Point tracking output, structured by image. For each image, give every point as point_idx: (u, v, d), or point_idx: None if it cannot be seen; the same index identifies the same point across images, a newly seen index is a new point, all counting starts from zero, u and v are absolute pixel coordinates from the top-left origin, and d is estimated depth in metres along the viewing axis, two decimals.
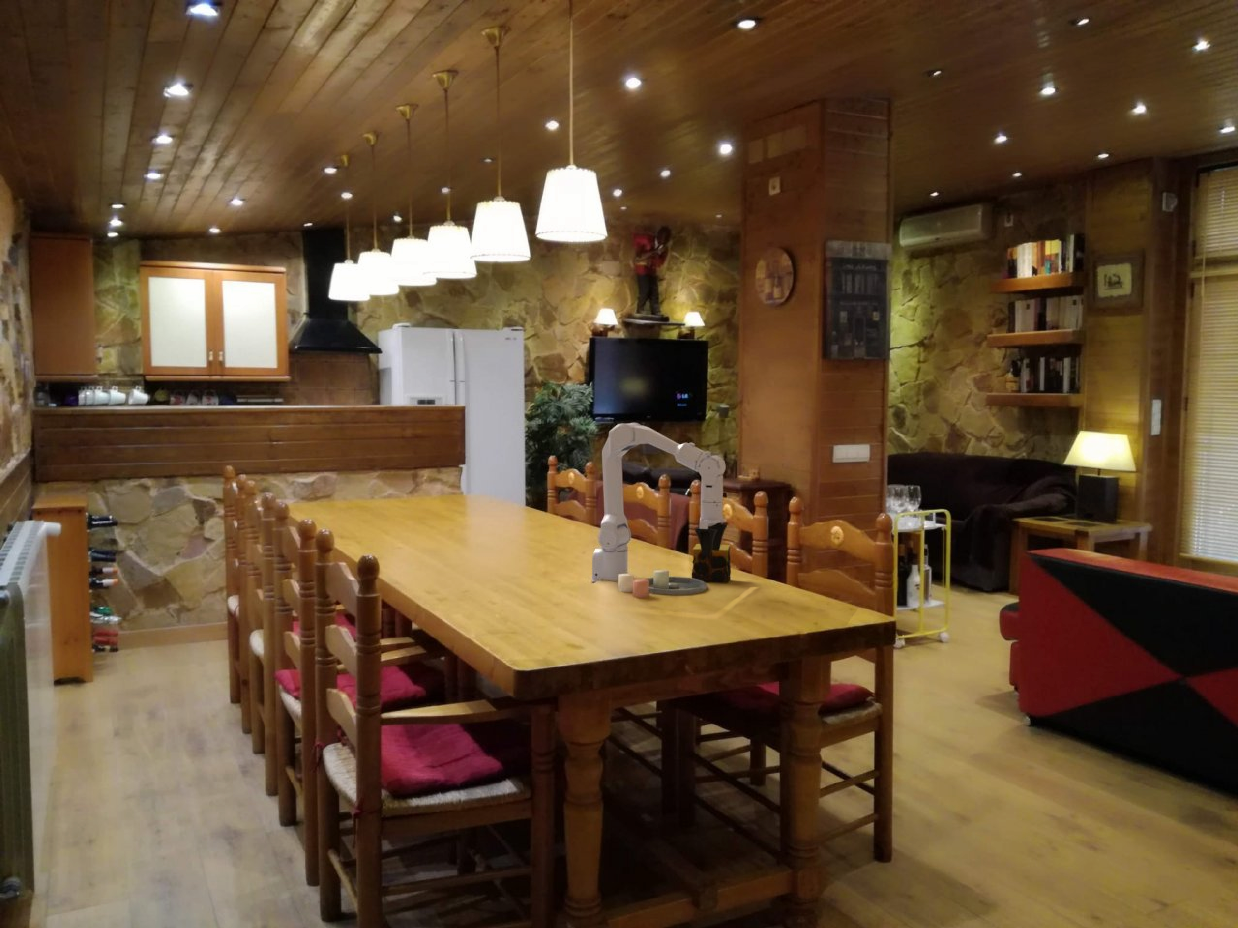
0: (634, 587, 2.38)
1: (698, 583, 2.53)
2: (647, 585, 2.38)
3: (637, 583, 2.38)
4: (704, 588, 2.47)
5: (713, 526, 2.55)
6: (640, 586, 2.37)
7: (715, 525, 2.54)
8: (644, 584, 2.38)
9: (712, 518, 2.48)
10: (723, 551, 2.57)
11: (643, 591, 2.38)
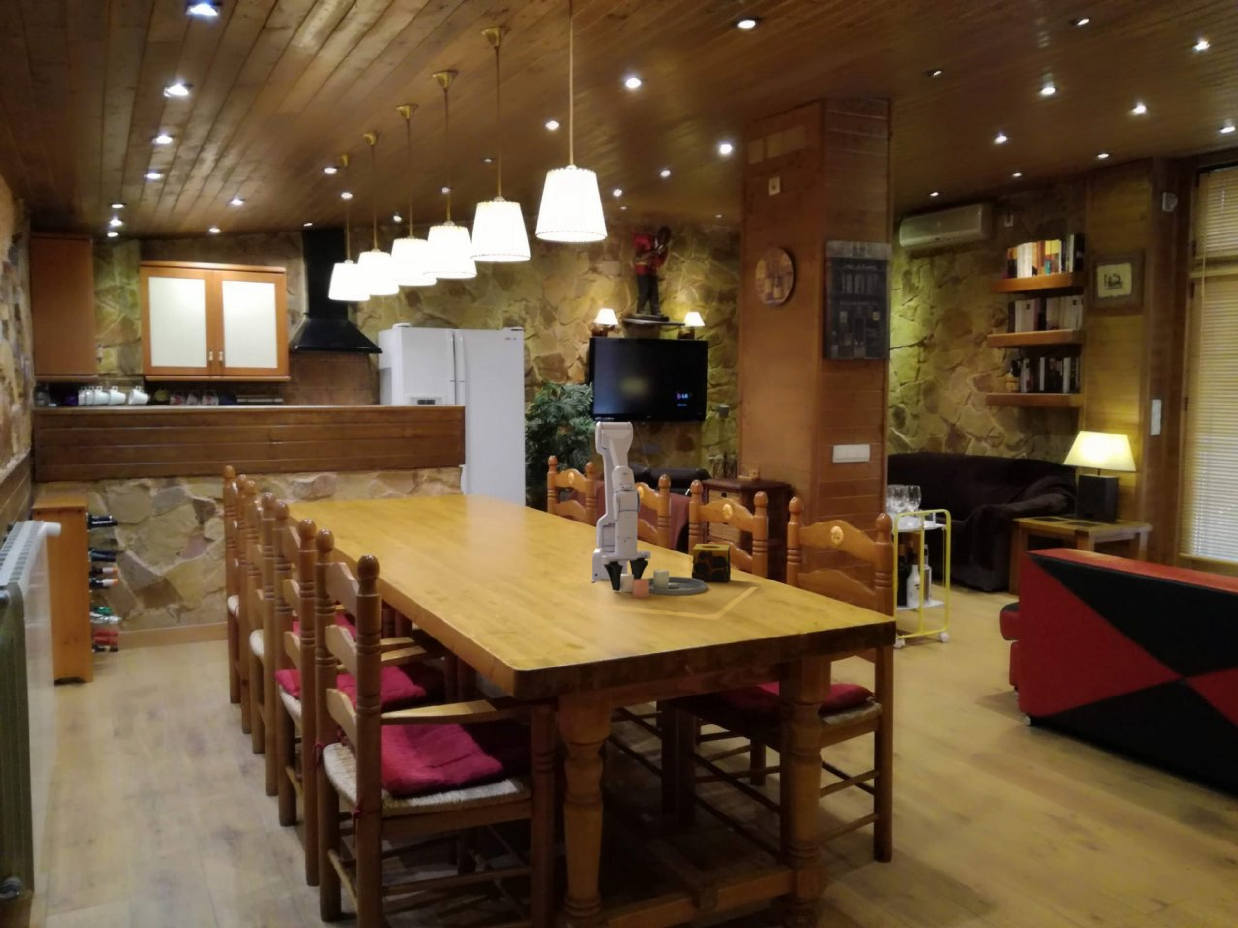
0: (634, 587, 2.38)
1: (698, 583, 2.53)
2: (647, 585, 2.38)
3: (637, 583, 2.38)
4: (704, 588, 2.47)
5: (634, 562, 2.48)
6: (640, 586, 2.37)
7: (635, 561, 2.48)
8: (644, 584, 2.38)
9: (620, 554, 2.43)
10: (723, 551, 2.57)
11: (643, 591, 2.38)
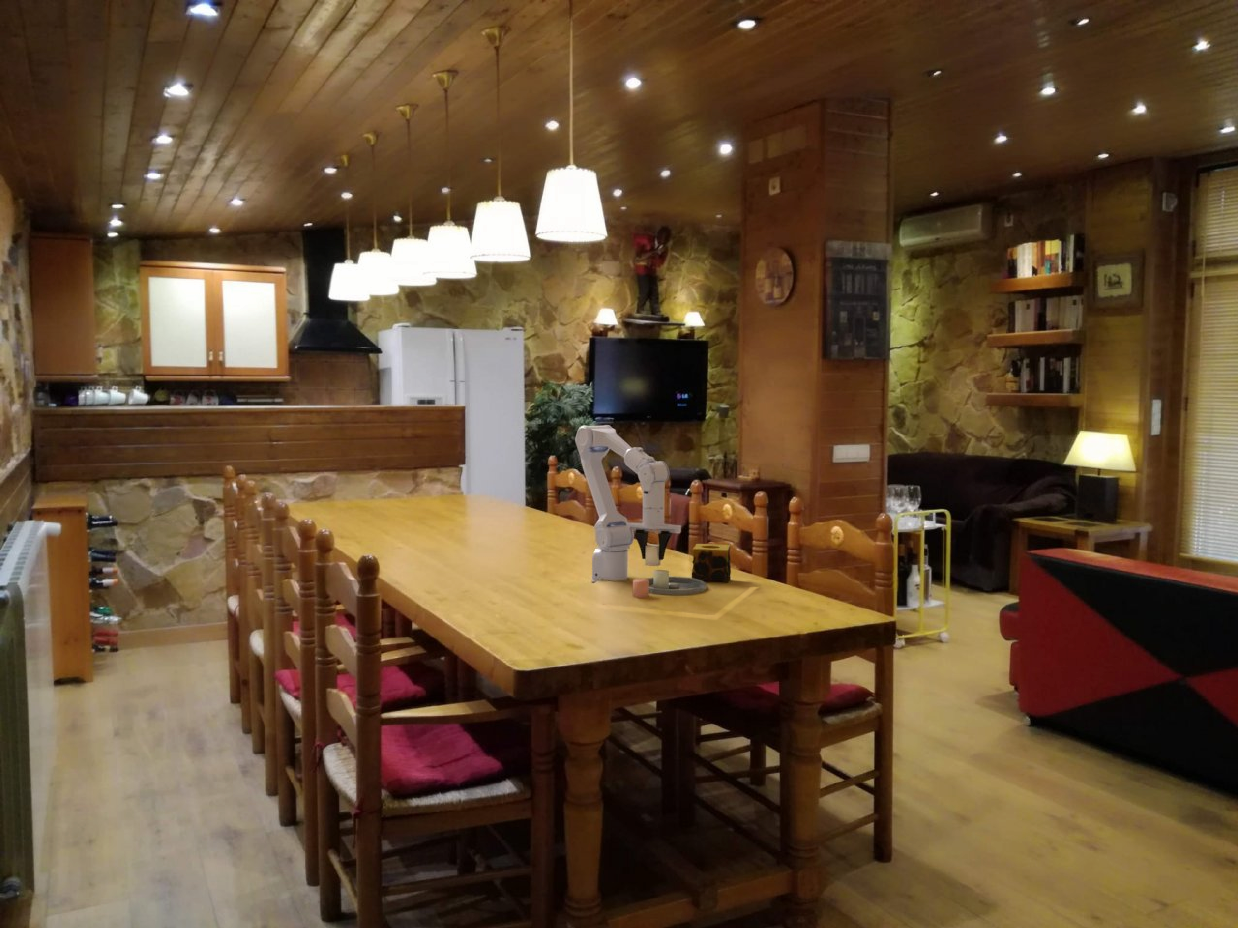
0: (634, 587, 2.38)
1: (698, 583, 2.53)
2: (647, 585, 2.38)
3: (637, 583, 2.38)
4: (704, 588, 2.47)
5: None
6: (640, 586, 2.37)
7: None
8: (644, 584, 2.38)
9: (642, 523, 2.50)
10: (723, 551, 2.57)
11: (643, 591, 2.38)
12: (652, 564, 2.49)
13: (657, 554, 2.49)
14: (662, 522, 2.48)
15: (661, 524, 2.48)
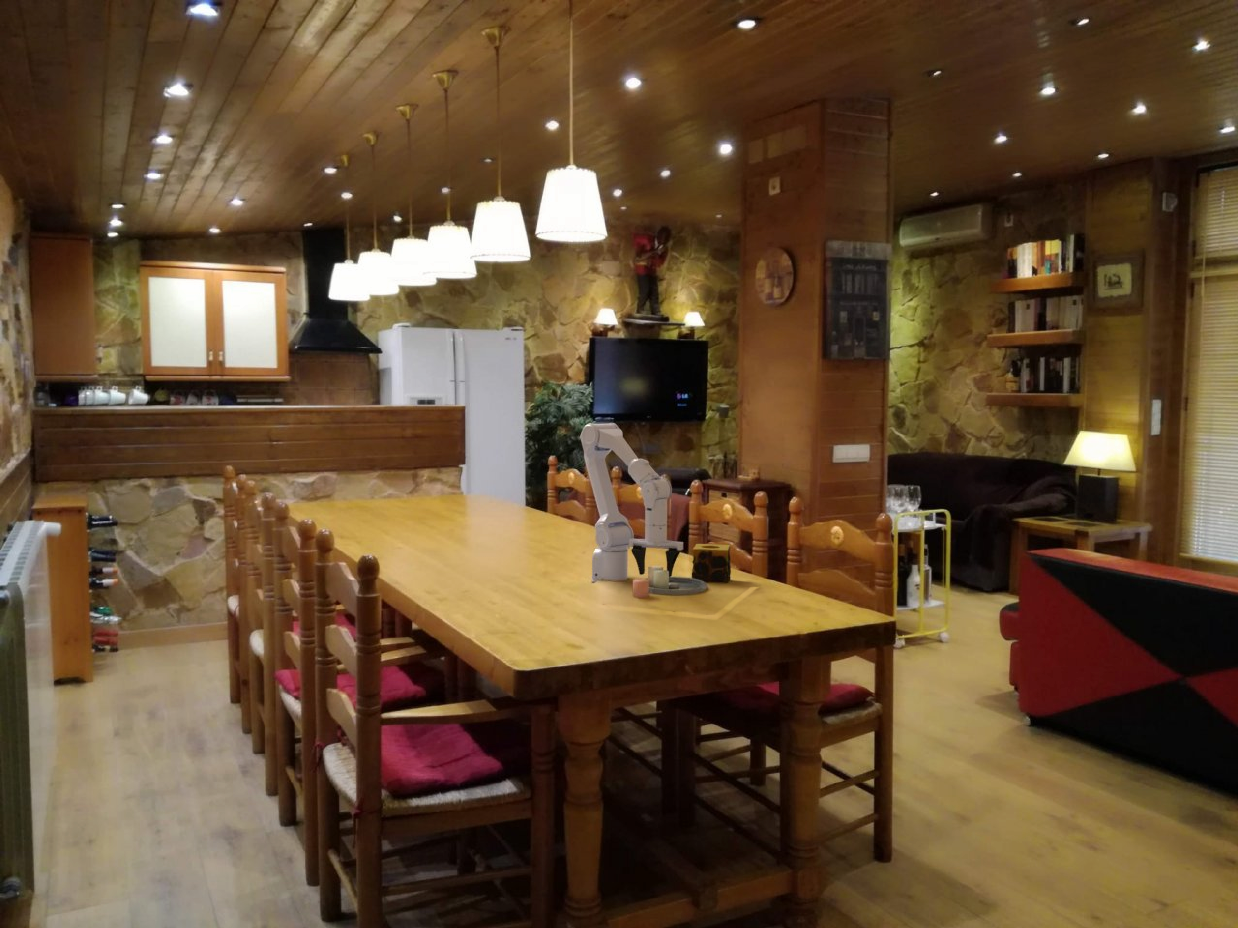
0: (634, 587, 2.38)
1: (698, 583, 2.53)
2: (647, 585, 2.38)
3: (637, 583, 2.38)
4: (704, 588, 2.47)
5: None
6: (640, 586, 2.37)
7: None
8: (644, 584, 2.38)
9: (645, 539, 2.51)
10: (723, 551, 2.57)
11: (643, 591, 2.38)
12: None
13: None
14: (664, 539, 2.49)
15: (663, 541, 2.49)
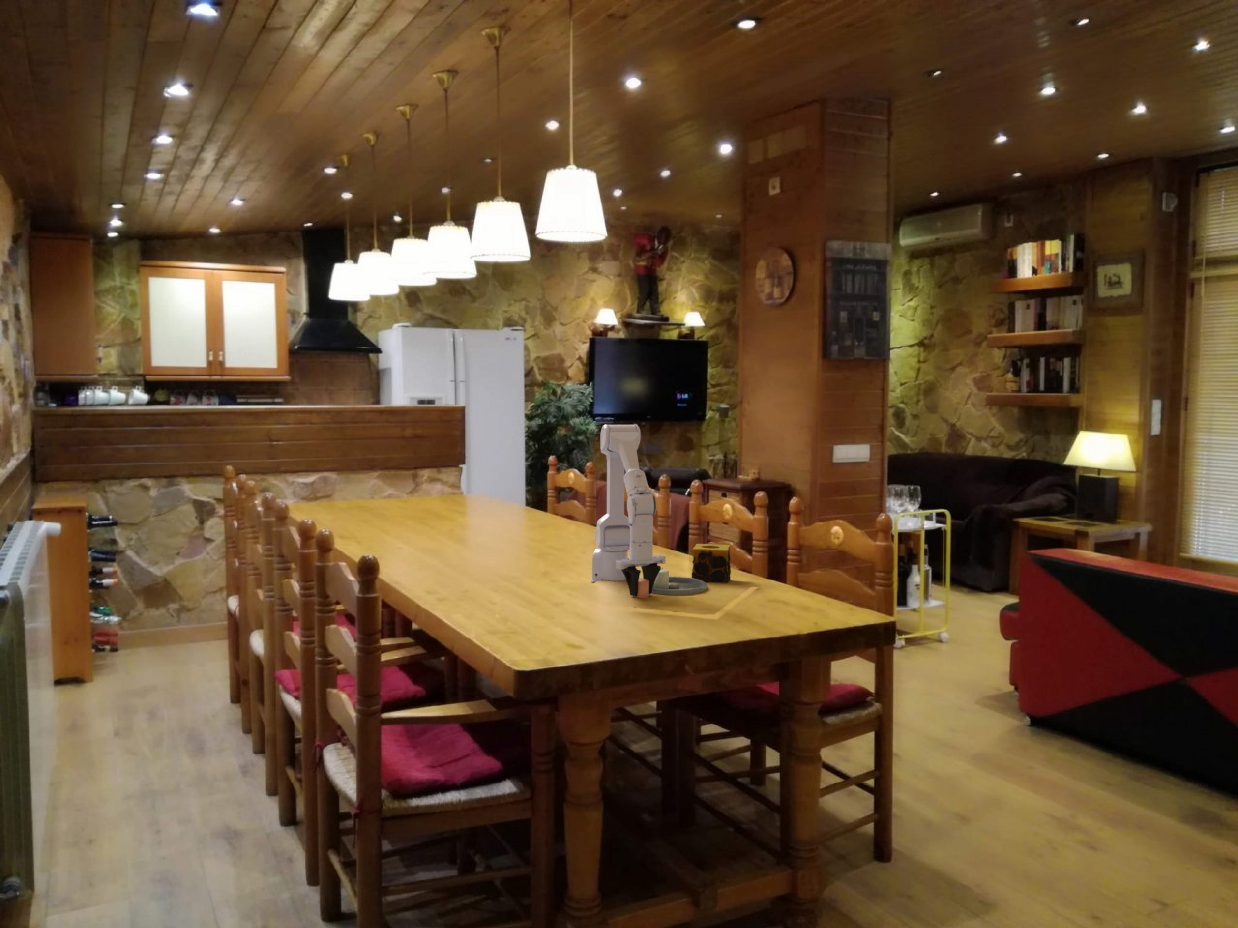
0: None
1: (698, 583, 2.53)
2: (647, 585, 2.38)
3: None
4: (704, 588, 2.47)
5: (646, 567, 2.41)
6: (640, 586, 2.37)
7: (647, 567, 2.40)
8: (644, 584, 2.38)
9: (635, 558, 2.36)
10: (723, 551, 2.57)
11: (643, 591, 2.38)
12: None
13: None
14: None
15: None
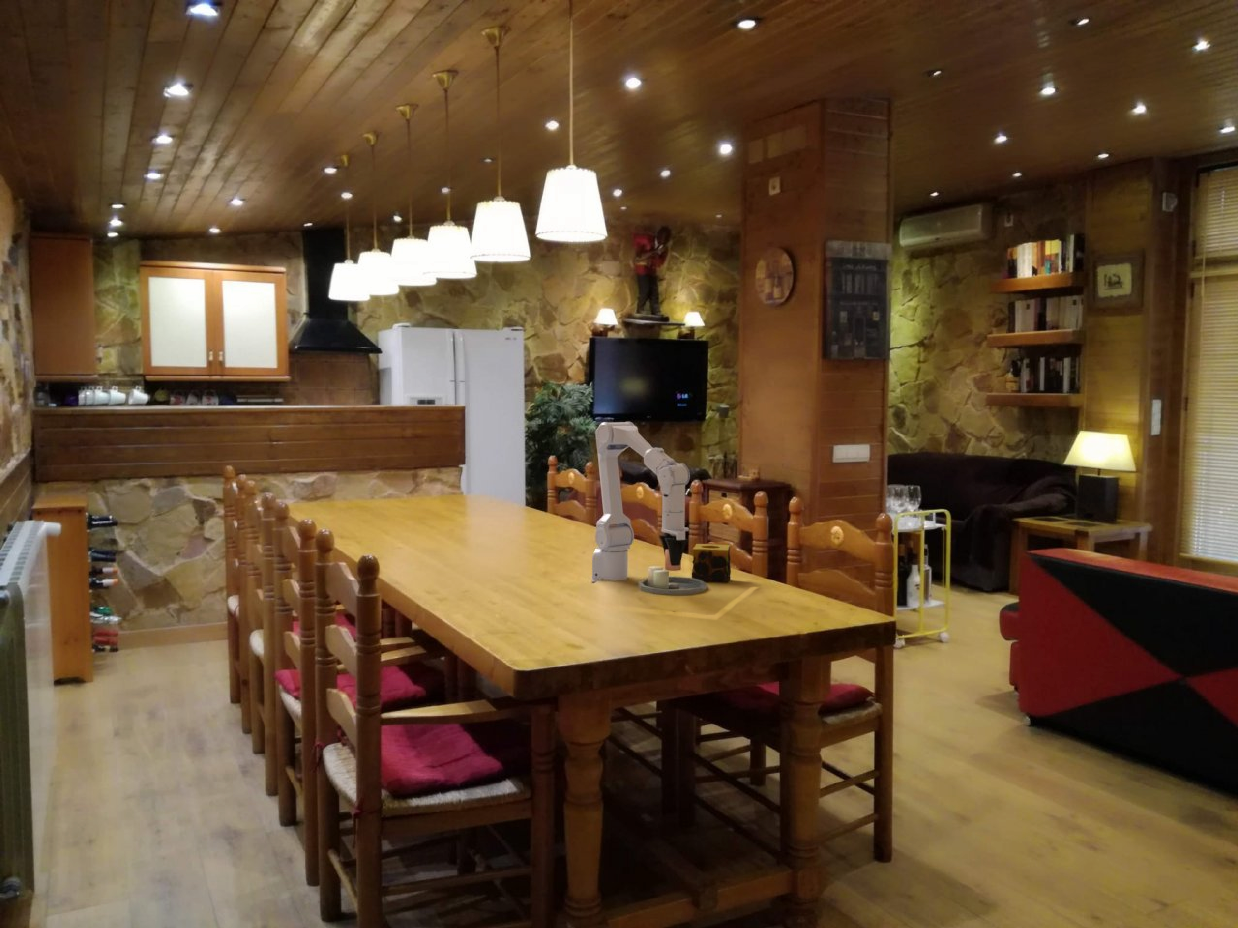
0: None
1: (698, 583, 2.53)
2: None
3: None
4: (704, 588, 2.47)
5: (668, 537, 2.45)
6: None
7: (670, 536, 2.45)
8: None
9: (680, 528, 2.41)
10: (723, 551, 2.57)
11: None
12: None
13: None
14: None
15: None
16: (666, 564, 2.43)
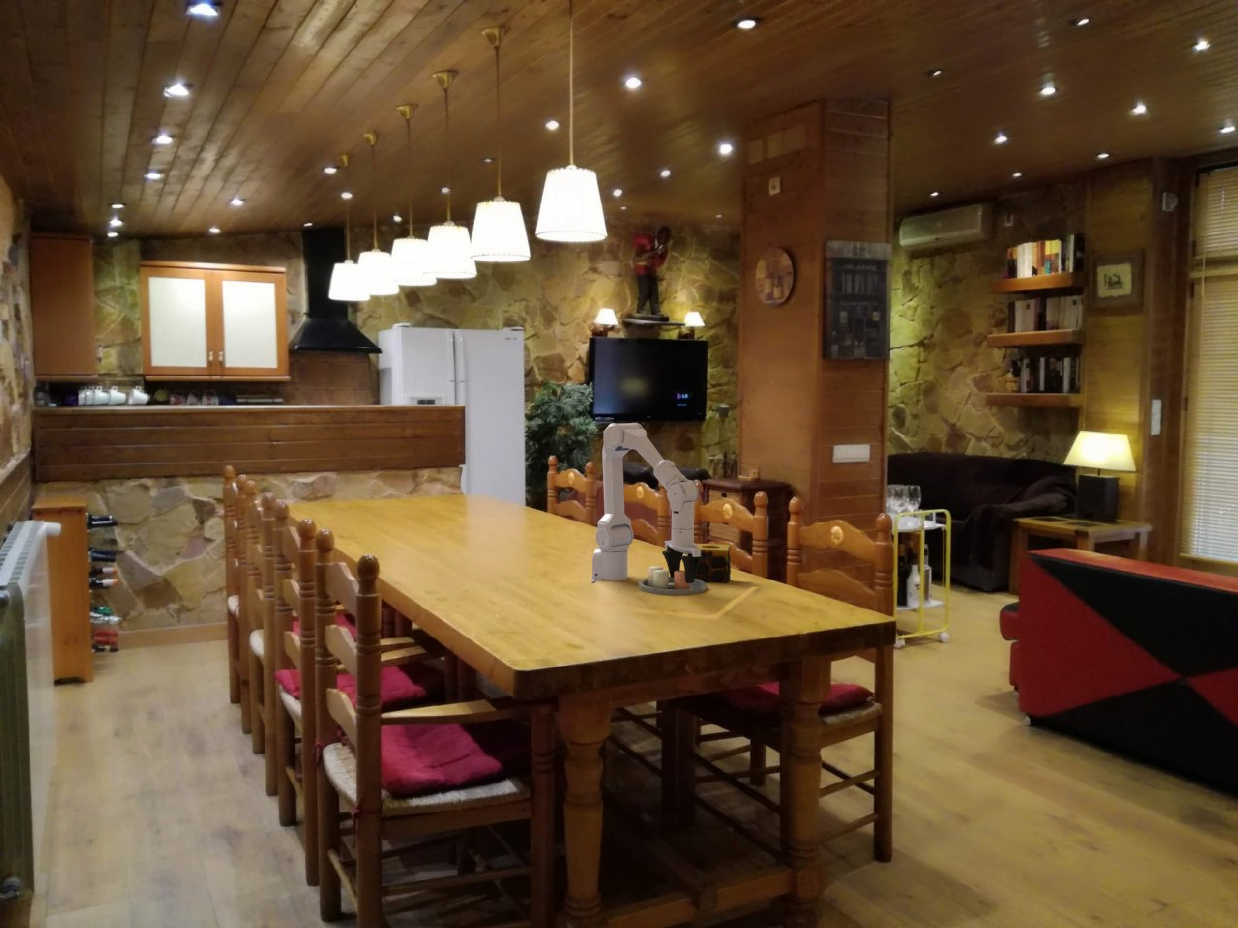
0: None
1: (698, 583, 2.53)
2: None
3: None
4: (704, 588, 2.47)
5: (673, 553, 2.48)
6: None
7: (674, 551, 2.48)
8: None
9: (691, 544, 2.43)
10: (723, 551, 2.57)
11: None
12: None
13: None
14: None
15: None
16: (677, 586, 2.44)
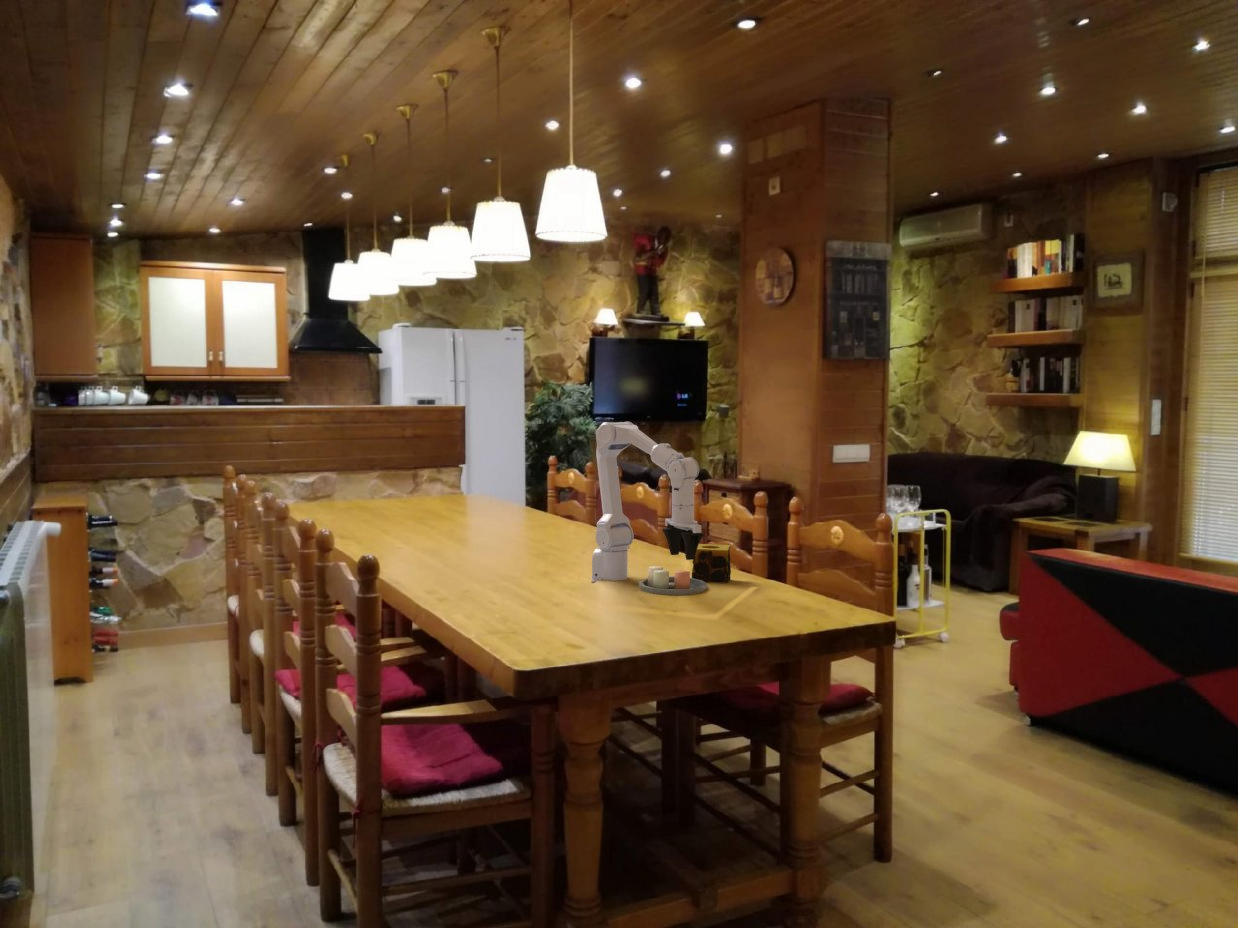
0: (686, 579, 2.44)
1: (698, 583, 2.53)
2: None
3: (688, 574, 2.44)
4: (704, 588, 2.47)
5: (673, 530, 2.48)
6: (689, 576, 2.45)
7: (675, 529, 2.48)
8: None
9: (691, 521, 2.43)
10: (723, 551, 2.57)
11: None
12: None
13: None
14: None
15: None
16: (677, 586, 2.44)
